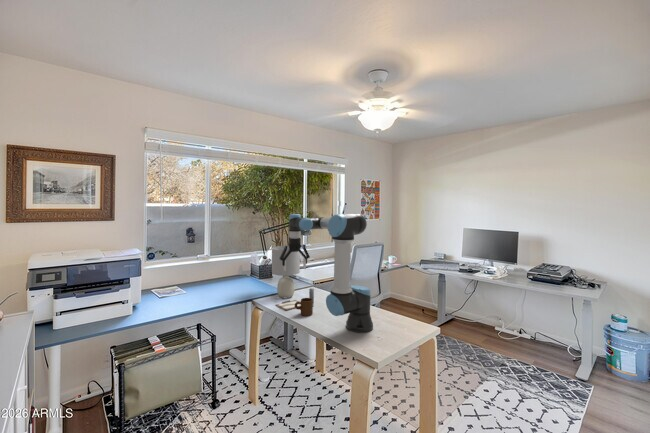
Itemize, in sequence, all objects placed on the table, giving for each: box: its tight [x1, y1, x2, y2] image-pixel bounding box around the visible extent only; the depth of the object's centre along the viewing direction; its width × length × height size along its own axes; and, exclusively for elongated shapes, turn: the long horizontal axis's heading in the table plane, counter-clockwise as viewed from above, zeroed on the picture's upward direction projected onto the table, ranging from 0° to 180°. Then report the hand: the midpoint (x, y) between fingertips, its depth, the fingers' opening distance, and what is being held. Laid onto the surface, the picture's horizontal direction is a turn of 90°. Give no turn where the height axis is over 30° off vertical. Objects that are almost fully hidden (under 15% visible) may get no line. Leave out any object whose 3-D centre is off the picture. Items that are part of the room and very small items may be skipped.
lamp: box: [271, 245, 301, 299], centre depth 231 cm, size 20×20×37 cm
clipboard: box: [275, 299, 301, 312], centre depth 212 cm, size 13×16×1 cm
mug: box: [295, 297, 314, 317], centre depth 196 cm, size 12×8×9 cm, turn 121°
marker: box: [308, 288, 315, 308], centre depth 211 cm, size 3×3×12 cm
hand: (294, 269), depth 206 cm, fingers open, 13 cm apart
